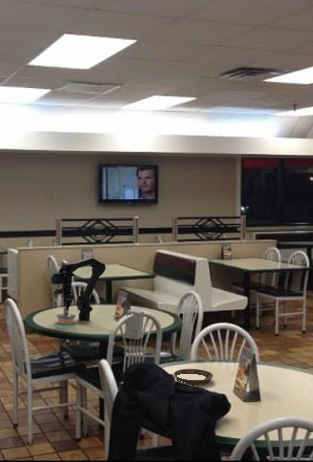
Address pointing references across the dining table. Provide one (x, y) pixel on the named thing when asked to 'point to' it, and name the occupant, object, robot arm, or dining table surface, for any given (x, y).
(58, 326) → the mat
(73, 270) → the robot arm
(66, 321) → the bowl
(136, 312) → the skincare box
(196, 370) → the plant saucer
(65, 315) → the lid
